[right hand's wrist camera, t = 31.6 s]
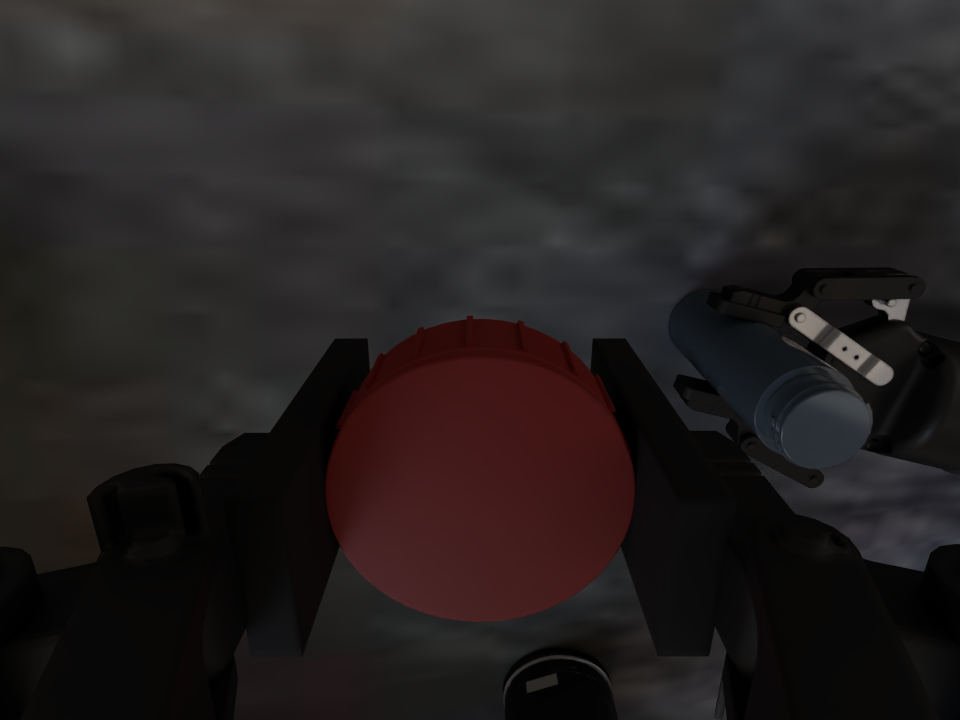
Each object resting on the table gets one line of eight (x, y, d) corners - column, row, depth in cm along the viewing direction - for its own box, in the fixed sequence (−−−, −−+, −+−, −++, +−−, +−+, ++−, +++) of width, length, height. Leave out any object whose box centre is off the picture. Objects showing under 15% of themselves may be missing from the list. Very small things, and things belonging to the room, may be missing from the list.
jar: (685, 367, 42) (793, 493, 27) (656, 311, 40) (755, 414, 26) (748, 334, 41) (895, 447, 26) (721, 276, 39) (861, 362, 25)
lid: (482, 254, 11) (483, 280, 9) (669, 447, 12) (705, 506, 10) (289, 439, 12) (254, 497, 10) (478, 593, 13) (477, 670, 12)
